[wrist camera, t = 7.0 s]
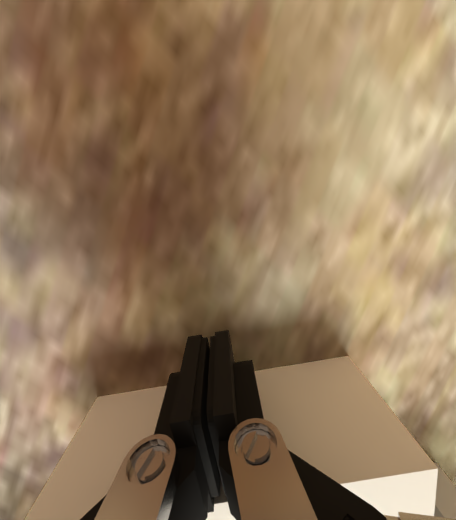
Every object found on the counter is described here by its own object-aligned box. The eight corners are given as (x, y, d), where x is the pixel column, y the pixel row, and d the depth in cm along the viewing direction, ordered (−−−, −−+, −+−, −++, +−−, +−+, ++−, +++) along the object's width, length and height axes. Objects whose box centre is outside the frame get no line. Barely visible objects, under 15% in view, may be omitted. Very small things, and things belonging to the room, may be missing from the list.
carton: (347, 354, 12) (439, 469, 7) (353, 489, 14) (424, 645, 9) (97, 395, 12) (13, 537, 7) (145, 522, 14) (106, 693, 9)
